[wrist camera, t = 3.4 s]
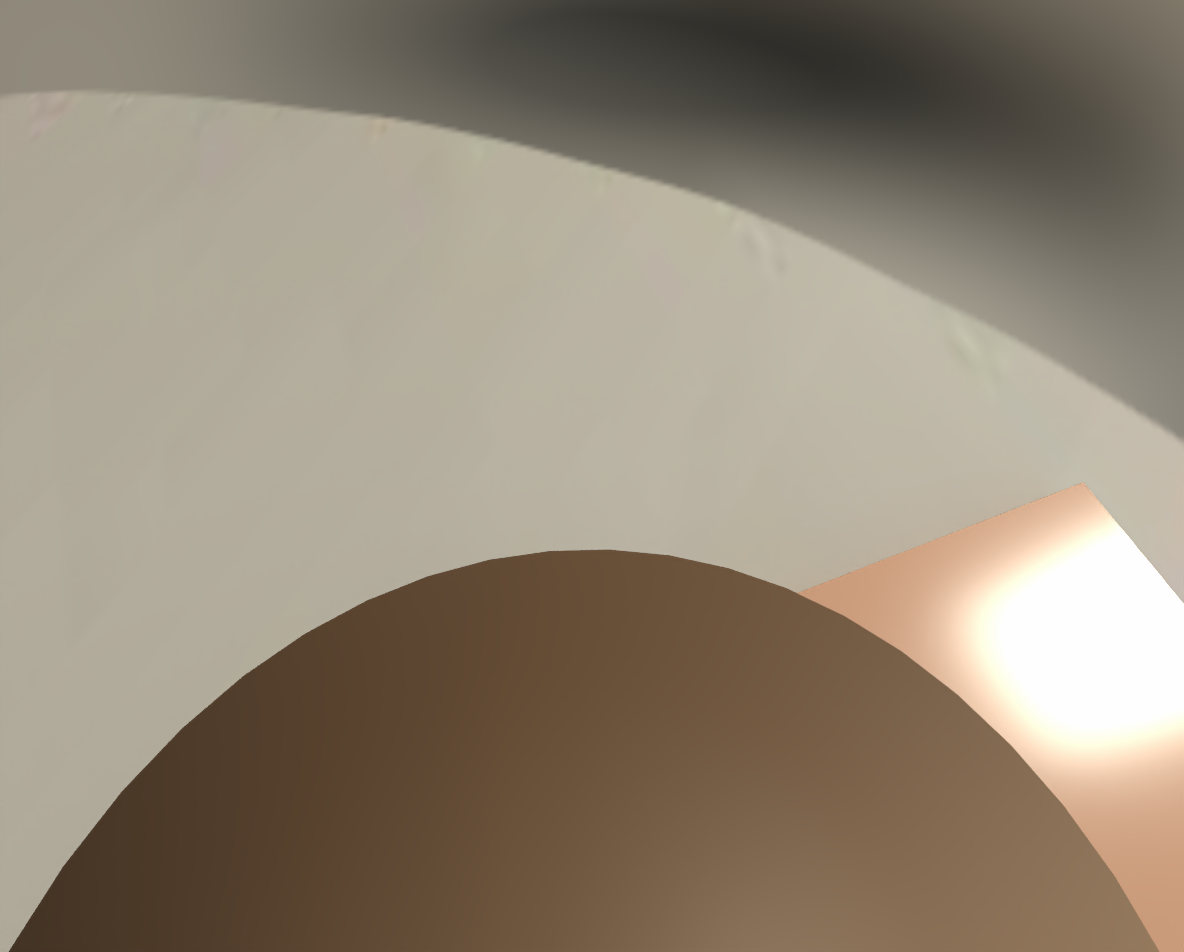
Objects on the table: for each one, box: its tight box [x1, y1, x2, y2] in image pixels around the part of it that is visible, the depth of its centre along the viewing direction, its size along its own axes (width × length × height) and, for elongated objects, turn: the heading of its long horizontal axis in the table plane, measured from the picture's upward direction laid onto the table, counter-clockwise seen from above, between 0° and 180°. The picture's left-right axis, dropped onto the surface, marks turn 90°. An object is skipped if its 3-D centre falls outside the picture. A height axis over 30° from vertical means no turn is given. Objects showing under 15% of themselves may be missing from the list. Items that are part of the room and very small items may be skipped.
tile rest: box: [797, 482, 1184, 952], centre depth 14 cm, size 10×10×1 cm
